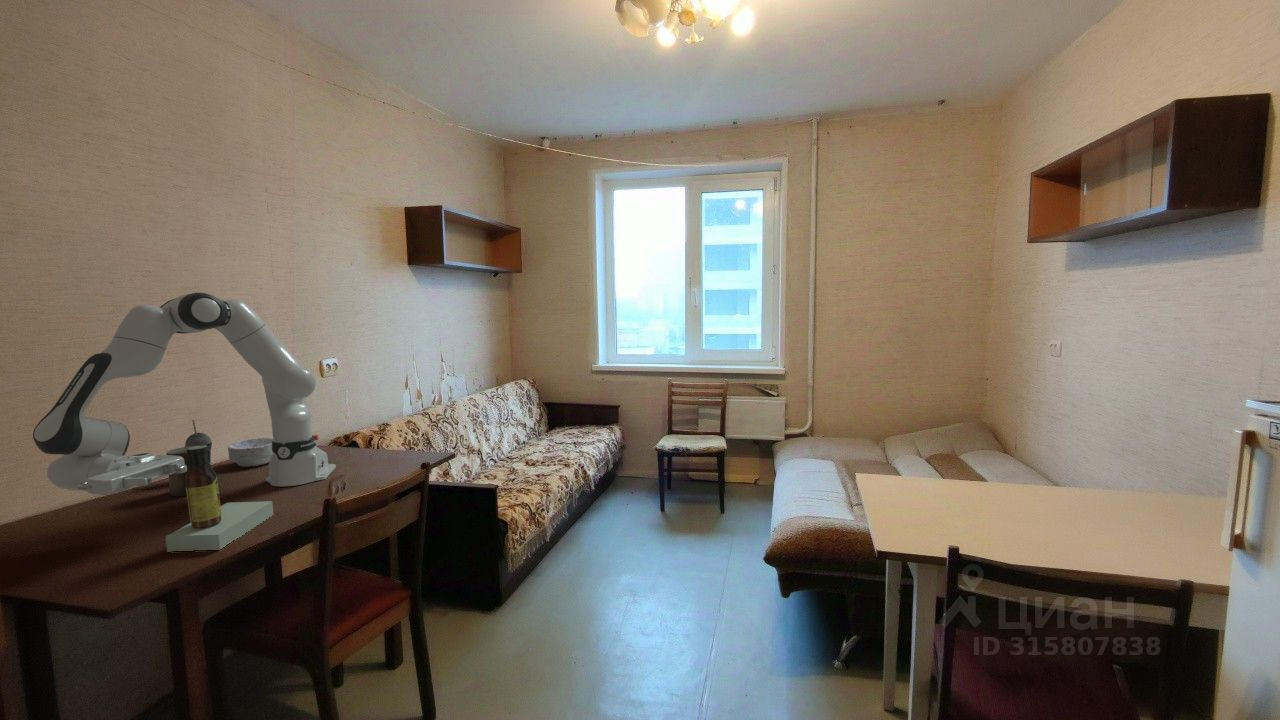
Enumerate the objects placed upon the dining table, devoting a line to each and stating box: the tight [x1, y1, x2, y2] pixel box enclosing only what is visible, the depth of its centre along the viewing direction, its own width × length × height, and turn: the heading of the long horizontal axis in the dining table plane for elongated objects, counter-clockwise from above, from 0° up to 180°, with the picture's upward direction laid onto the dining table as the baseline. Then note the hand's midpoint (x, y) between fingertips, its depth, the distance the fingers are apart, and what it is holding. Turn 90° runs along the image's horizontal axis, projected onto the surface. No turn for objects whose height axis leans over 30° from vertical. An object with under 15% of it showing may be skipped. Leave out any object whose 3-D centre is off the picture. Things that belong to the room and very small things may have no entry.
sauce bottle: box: [185, 445, 222, 528], centre depth 137 cm, size 7×6×20 cm
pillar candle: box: [165, 444, 194, 497], centre depth 173 cm, size 10×10×15 cm
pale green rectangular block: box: [165, 500, 274, 553], centre depth 142 cm, size 22×12×4 cm, turn 5°
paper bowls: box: [227, 437, 273, 468], centre depth 203 cm, size 15×15×8 cm
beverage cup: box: [184, 419, 213, 466], centre depth 186 cm, size 7×7×20 cm
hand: (167, 475), depth 137 cm, fingers open, 8 cm apart
